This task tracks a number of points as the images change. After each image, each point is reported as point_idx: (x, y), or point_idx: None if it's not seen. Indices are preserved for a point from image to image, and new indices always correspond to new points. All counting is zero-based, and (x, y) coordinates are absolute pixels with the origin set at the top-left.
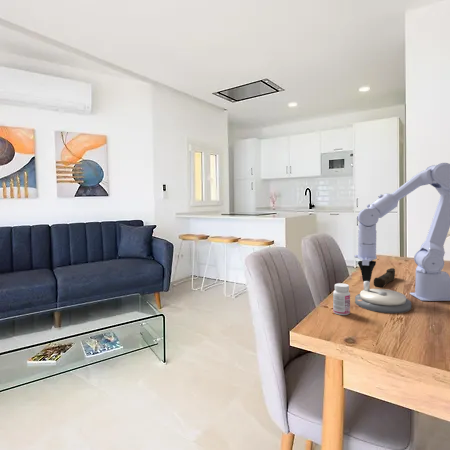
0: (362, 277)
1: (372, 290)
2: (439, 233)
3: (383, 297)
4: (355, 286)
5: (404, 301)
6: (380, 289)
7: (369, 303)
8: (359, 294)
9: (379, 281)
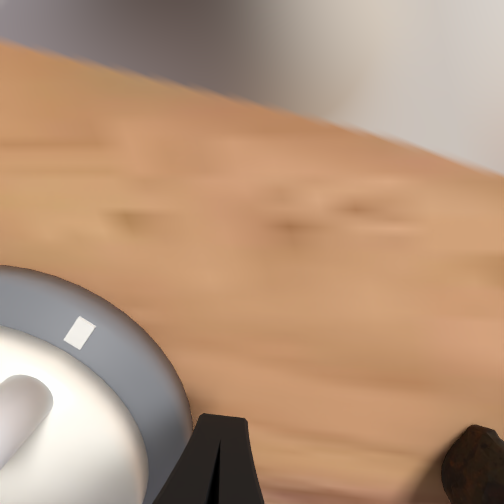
0: (180, 457)
1: (49, 439)
2: None
3: None
4: (470, 285)
5: None
6: (112, 495)
7: None
8: (63, 315)
9: (481, 500)
